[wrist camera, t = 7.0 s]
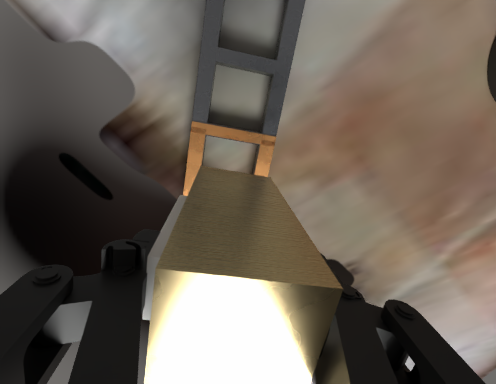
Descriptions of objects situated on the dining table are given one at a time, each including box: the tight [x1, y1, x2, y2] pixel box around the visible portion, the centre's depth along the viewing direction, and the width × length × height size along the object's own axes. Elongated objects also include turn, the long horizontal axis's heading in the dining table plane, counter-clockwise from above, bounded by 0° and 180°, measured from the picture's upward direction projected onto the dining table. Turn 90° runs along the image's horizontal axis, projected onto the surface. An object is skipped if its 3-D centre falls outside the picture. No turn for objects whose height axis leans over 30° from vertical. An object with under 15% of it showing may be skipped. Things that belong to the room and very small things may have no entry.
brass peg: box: [144, 166, 343, 384], centre depth 13 cm, size 5×5×12 cm
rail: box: [183, 0, 305, 196], centre depth 30 cm, size 10×25×2 cm, turn 170°
